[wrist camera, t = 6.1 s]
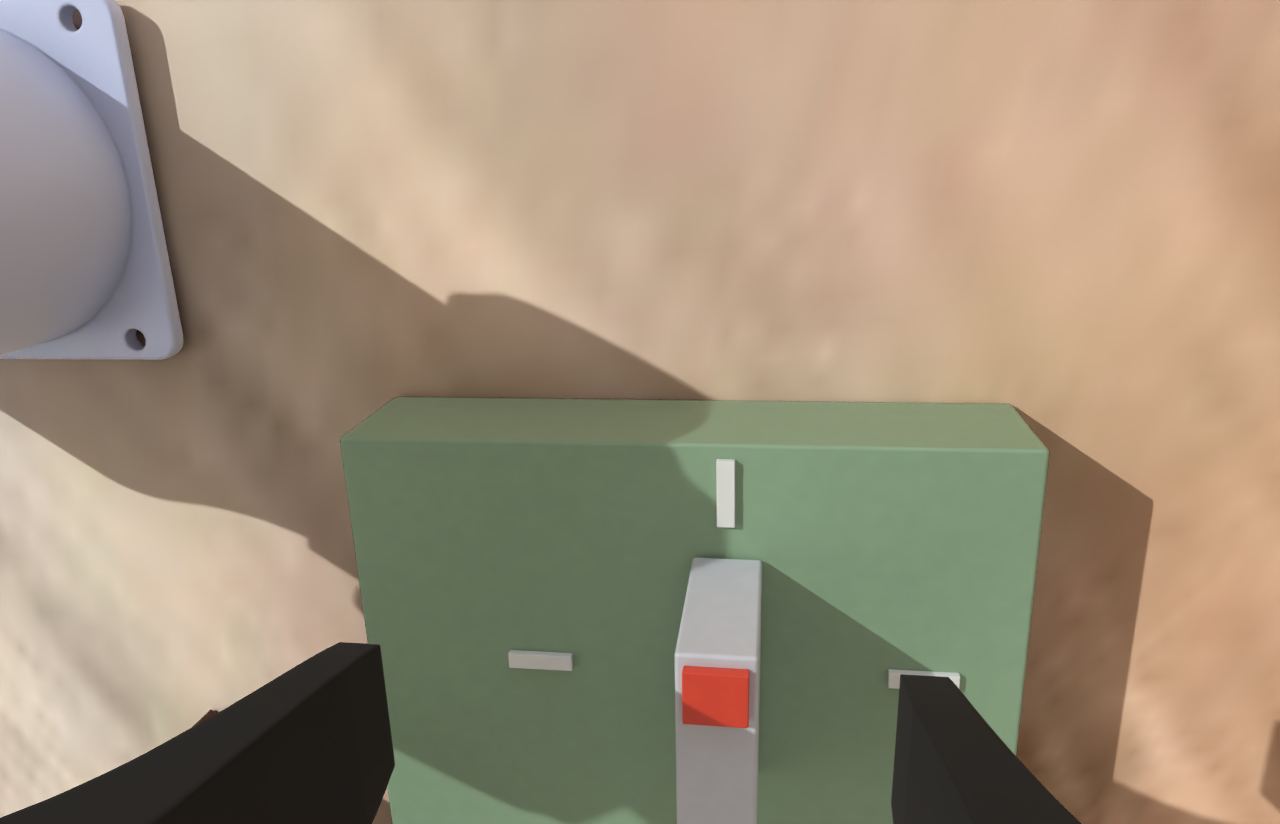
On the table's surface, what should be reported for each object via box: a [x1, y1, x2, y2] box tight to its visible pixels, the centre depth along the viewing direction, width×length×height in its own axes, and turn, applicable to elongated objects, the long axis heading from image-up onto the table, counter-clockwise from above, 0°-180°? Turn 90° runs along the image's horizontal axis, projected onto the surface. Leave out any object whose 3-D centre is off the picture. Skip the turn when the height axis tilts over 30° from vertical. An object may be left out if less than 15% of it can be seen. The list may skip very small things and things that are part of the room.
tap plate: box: [340, 397, 1049, 824], centre depth 21 cm, size 14×10×3 cm
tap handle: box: [675, 558, 762, 824], centre depth 18 cm, size 5×1×4 cm, turn 1°
